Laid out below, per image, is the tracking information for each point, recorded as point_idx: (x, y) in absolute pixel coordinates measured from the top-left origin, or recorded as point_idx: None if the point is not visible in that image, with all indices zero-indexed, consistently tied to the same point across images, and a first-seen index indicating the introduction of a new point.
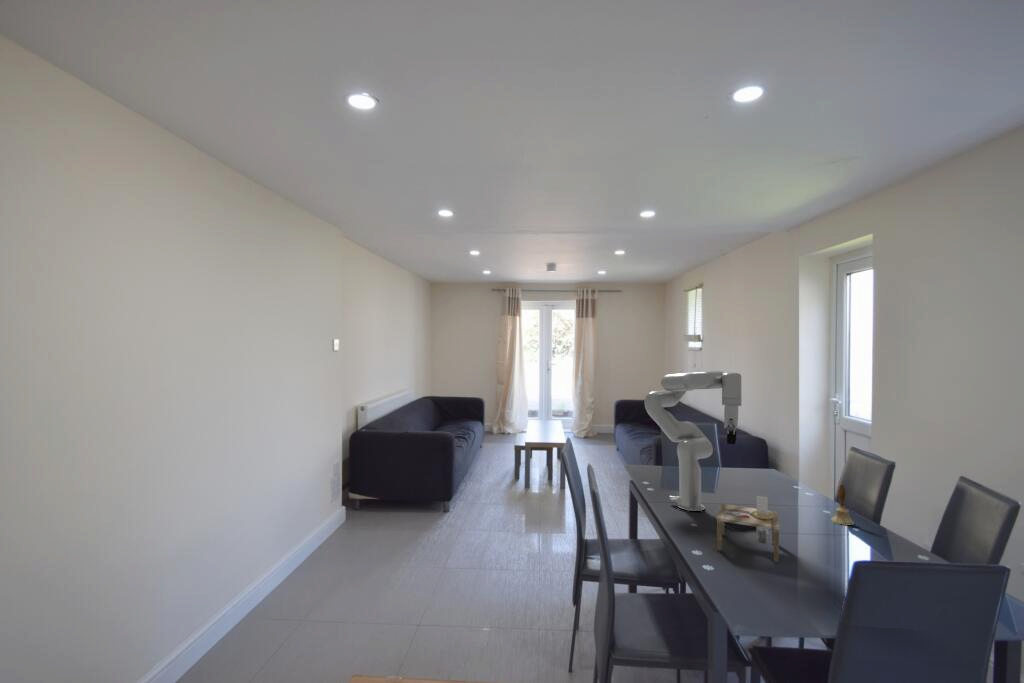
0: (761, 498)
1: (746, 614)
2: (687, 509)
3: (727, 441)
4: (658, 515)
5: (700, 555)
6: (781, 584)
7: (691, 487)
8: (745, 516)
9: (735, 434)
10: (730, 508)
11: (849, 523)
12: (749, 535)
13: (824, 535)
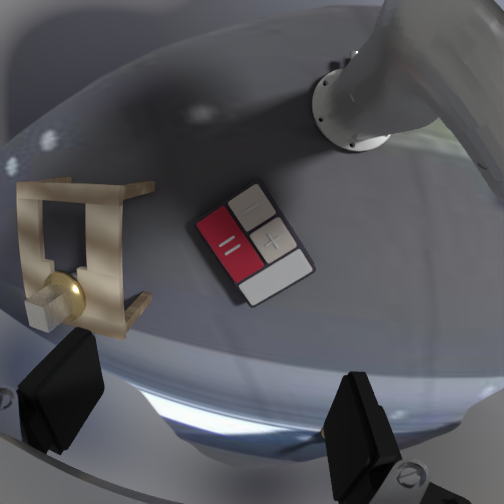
0: (29, 312)
1: None
2: (313, 96)
3: (68, 339)
4: (243, 25)
5: (39, 148)
6: (12, 268)
7: (339, 92)
8: (252, 260)
9: (331, 472)
10: (86, 219)
11: (324, 437)
12: (176, 252)
13: (248, 395)
